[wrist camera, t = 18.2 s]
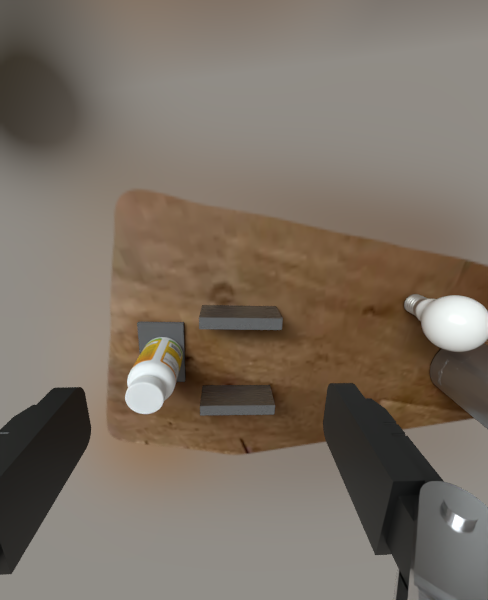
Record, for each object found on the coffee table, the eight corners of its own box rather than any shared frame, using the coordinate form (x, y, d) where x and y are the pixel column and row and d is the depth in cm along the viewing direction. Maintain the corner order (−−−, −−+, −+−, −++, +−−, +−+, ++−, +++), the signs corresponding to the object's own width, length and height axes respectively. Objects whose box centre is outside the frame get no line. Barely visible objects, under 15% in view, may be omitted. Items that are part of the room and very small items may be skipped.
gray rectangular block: (183, 322, 38) (183, 323, 37) (185, 379, 40) (184, 381, 40) (138, 321, 37) (137, 323, 37) (143, 379, 40) (142, 381, 39)
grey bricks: (276, 306, 38) (282, 318, 33) (269, 393, 42) (274, 414, 38) (202, 305, 37) (199, 317, 33) (202, 394, 41) (200, 415, 37)
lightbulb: (426, 323, 40) (497, 363, 30) (384, 322, 40) (441, 361, 29) (438, 280, 38) (518, 307, 28) (394, 278, 38) (459, 304, 27)
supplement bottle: (141, 366, 39) (114, 415, 29) (146, 332, 37) (121, 372, 28) (179, 373, 39) (165, 423, 30) (187, 340, 38) (174, 382, 29)
